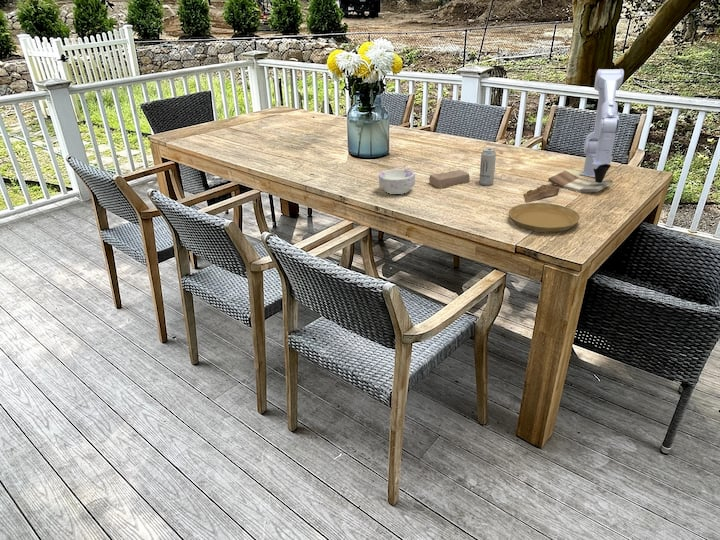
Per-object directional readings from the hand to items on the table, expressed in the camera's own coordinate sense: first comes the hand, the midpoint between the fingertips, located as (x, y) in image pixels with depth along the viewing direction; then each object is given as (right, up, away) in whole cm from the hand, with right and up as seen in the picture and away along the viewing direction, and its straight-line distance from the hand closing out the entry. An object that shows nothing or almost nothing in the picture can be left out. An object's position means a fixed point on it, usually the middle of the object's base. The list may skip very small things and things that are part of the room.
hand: (598, 182), depth 209 cm
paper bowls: (-81, -3, +10) cm, 82 cm away
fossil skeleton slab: (-23, -5, +1) cm, 24 cm away
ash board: (-5, -1, +7) cm, 8 cm away
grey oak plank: (0, -2, +1) cm, 2 cm away
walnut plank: (-10, +3, +11) cm, 15 cm away
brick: (-58, +2, +17) cm, 60 cm away
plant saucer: (-32, -19, -24) cm, 44 cm away
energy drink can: (-42, +1, +14) cm, 45 cm away
